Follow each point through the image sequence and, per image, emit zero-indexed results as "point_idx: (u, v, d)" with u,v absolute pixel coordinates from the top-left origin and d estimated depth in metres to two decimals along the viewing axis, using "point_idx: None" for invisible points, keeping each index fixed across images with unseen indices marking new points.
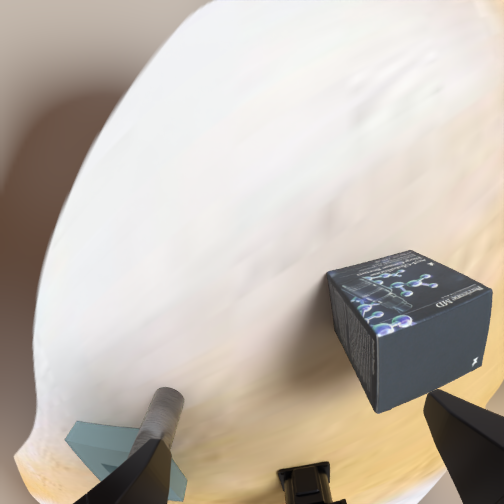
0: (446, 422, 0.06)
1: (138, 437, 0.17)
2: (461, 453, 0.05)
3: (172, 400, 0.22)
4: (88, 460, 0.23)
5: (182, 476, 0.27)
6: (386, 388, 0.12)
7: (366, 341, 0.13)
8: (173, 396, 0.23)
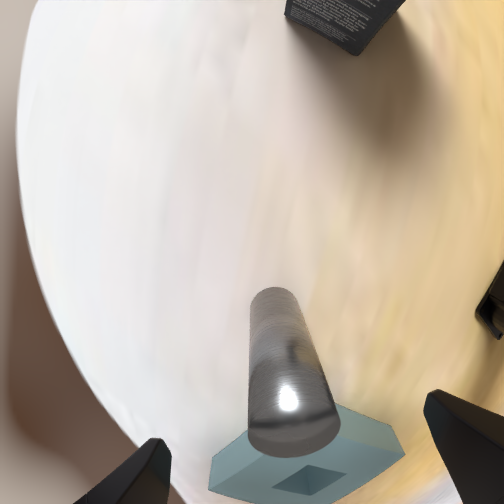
0: (446, 422, 0.06)
1: (249, 372, 0.10)
2: (461, 453, 0.05)
3: (273, 297, 0.15)
4: (255, 495, 0.17)
5: (381, 424, 0.19)
6: None
7: None
8: (271, 293, 0.16)
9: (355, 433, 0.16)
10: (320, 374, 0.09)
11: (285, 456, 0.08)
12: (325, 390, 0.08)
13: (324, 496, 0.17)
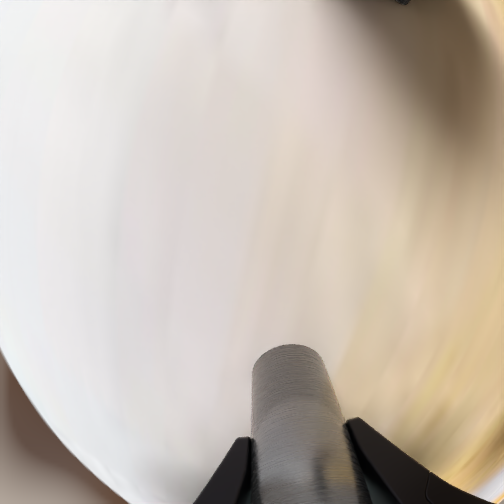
0: (357, 456, 0.06)
1: None
2: (374, 492, 0.05)
3: (289, 368, 0.09)
4: None
5: None
6: None
7: None
8: (286, 359, 0.09)
9: None
10: None
11: None
12: None
13: None
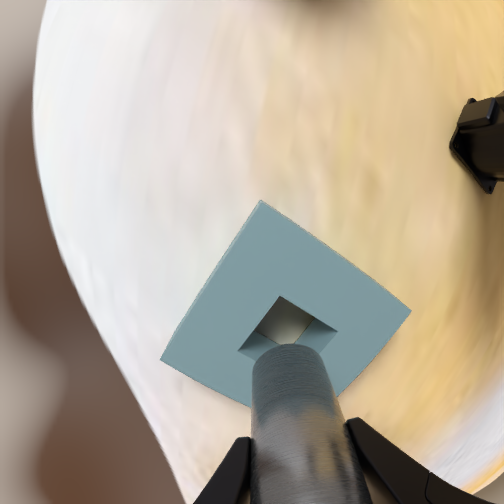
0: (357, 456, 0.06)
1: None
2: (374, 492, 0.05)
3: (289, 367, 0.09)
4: (220, 372, 0.17)
5: (374, 280, 0.19)
6: None
7: None
8: (286, 358, 0.09)
9: (335, 252, 0.16)
10: None
11: None
12: None
13: None
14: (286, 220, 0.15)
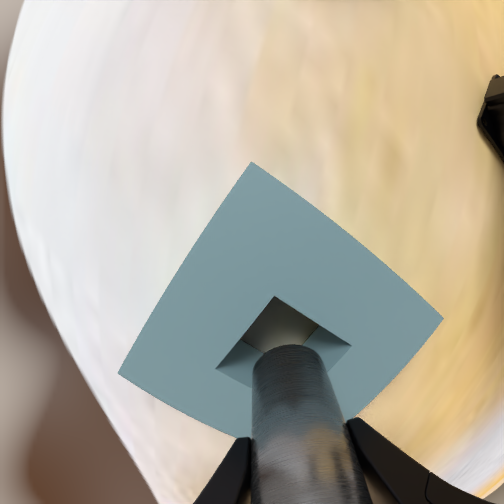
0: (357, 456, 0.06)
1: None
2: (375, 492, 0.05)
3: (289, 368, 0.09)
4: (193, 394, 0.12)
5: None
6: None
7: None
8: (286, 359, 0.09)
9: None
10: None
11: None
12: None
13: None
14: (285, 188, 0.10)
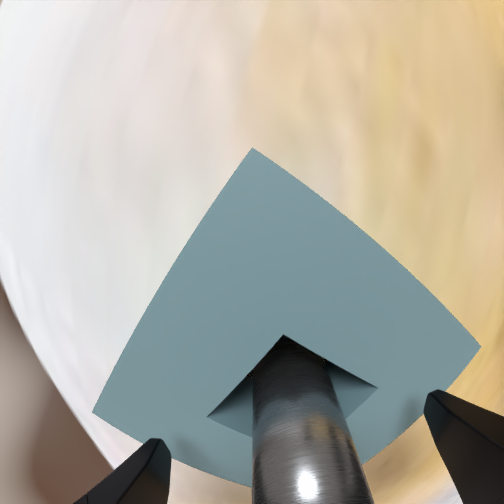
0: (446, 422, 0.06)
1: (253, 467, 0.06)
2: (461, 454, 0.05)
3: (284, 339, 0.11)
4: (181, 441, 0.09)
5: None
6: None
7: None
8: None
9: None
10: (361, 480, 0.04)
11: None
12: None
13: None
14: (301, 185, 0.07)
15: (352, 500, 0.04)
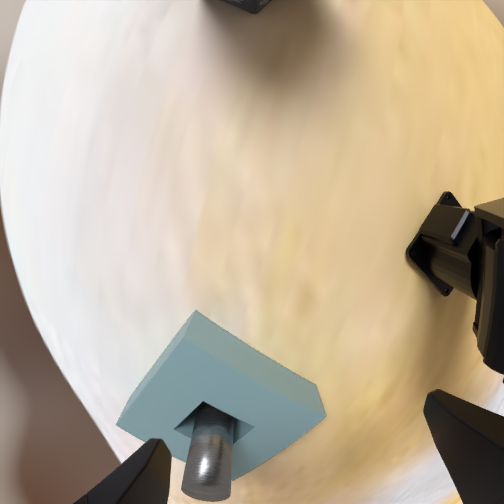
0: (446, 422, 0.06)
1: (188, 452, 0.15)
2: (461, 454, 0.05)
3: None
4: None
5: (301, 379, 0.21)
6: None
7: None
8: None
9: (254, 371, 0.18)
10: (223, 464, 0.13)
11: (204, 500, 0.12)
12: (222, 475, 0.13)
13: (239, 458, 0.19)
14: (205, 351, 0.16)
15: (215, 469, 0.13)
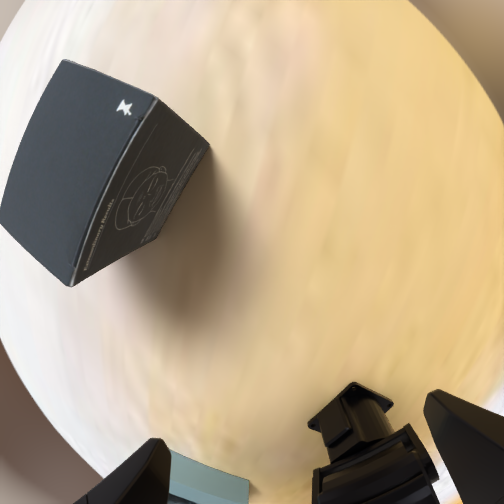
0: (446, 422, 0.06)
1: None
2: (461, 454, 0.05)
3: None
4: None
5: (236, 478, 0.25)
6: (38, 251, 0.09)
7: None
8: None
9: (196, 482, 0.22)
10: None
11: None
12: None
13: None
14: None
15: None
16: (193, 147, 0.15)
